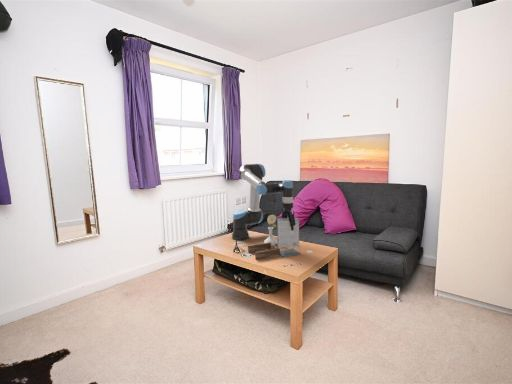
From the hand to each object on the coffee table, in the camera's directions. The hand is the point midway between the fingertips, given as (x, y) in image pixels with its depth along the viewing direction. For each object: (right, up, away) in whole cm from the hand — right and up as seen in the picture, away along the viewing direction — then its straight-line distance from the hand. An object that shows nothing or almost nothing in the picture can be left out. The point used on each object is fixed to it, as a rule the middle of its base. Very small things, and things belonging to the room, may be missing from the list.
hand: (288, 232), depth 197 cm
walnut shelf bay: (-18, -16, +2) cm, 24 cm away
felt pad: (0, -15, +2) cm, 15 cm away
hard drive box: (0, -10, +1) cm, 10 cm away
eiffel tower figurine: (-38, -16, +8) cm, 42 cm away
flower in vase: (-11, -13, +22) cm, 28 cm away
